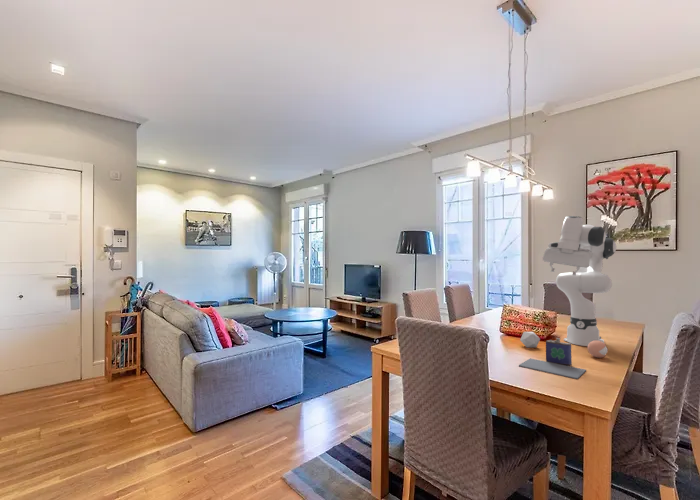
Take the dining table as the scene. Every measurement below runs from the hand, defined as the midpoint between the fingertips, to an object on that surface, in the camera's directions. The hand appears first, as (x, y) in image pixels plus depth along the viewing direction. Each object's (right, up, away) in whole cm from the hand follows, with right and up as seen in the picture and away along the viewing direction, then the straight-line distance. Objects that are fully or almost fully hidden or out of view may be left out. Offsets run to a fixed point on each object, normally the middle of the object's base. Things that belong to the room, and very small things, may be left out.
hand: (563, 273), depth 173 cm
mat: (-22, -39, -27) cm, 52 cm away
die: (-12, -40, +8) cm, 42 cm away
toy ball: (+10, -39, -11) cm, 42 cm away
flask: (-15, -39, -20) cm, 47 cm away
